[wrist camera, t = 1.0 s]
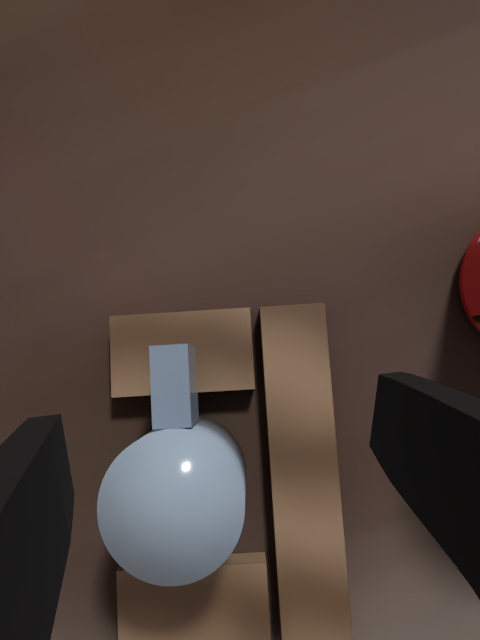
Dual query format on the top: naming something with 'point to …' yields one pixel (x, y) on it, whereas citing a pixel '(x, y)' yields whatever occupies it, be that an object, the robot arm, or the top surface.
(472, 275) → the canned food
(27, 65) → the top surface
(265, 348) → the brown wooden panels
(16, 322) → the top surface
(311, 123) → the top surface
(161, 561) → the grey round flask
